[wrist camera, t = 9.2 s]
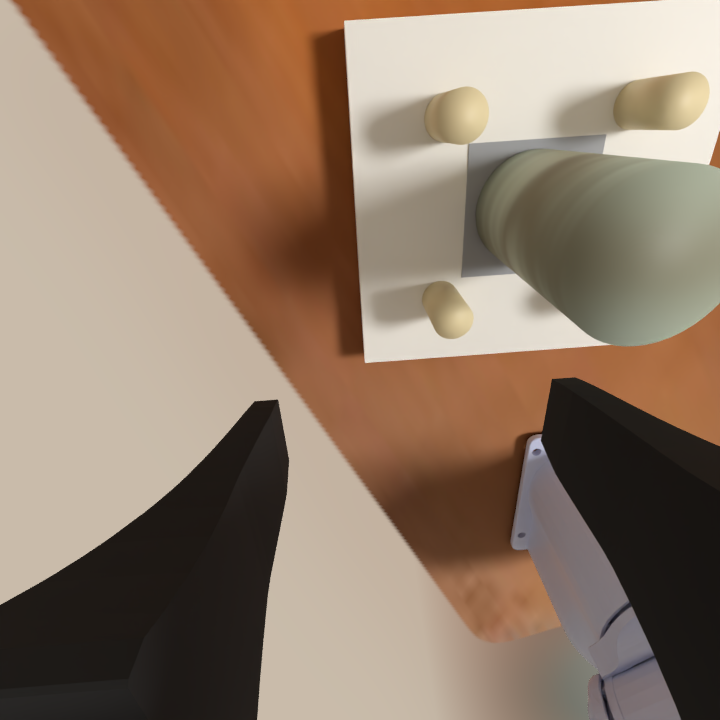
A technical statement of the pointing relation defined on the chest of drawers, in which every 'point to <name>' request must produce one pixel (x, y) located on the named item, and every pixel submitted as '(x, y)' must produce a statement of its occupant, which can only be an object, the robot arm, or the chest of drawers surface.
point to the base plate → (502, 150)
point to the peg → (609, 238)
